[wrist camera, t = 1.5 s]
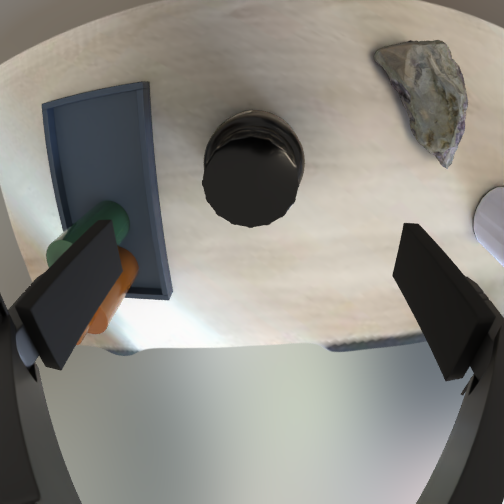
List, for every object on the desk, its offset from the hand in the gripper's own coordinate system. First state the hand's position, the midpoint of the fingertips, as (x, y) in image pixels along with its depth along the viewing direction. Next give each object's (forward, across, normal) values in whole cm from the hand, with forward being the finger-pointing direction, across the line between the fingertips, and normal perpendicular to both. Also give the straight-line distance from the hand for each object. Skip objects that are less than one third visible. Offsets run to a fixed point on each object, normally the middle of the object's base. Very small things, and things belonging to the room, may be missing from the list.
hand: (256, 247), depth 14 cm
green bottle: (+21, -19, -8) cm, 29 cm away
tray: (+22, -19, -5) cm, 29 cm away
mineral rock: (+22, +16, +7) cm, 28 cm away
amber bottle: (+21, -19, -14) cm, 31 cm away
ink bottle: (+22, -1, 0) cm, 22 cm away
